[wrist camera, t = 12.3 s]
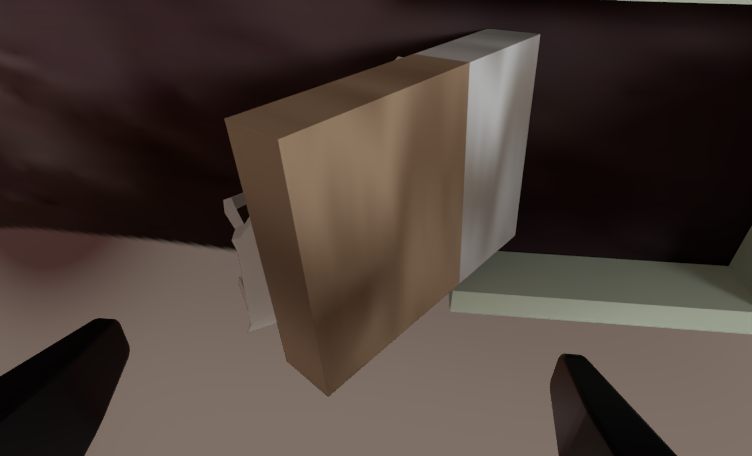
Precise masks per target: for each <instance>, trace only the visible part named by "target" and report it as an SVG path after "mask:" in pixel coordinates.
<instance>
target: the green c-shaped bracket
mask: <svg viewBox="0 0 752 456" xmlns="http://www.w3.org/2000/svg"><path fill="white" fill-rule="evenodd" d="M619 1H652V2H685V3H719V4H752V0H619ZM449 306H450V312H460V313H474V314H487V315H500V316H513V317H527V318H540V319H554V320H567V321H581V322H594V323H607V324H621V325H634V326H648V327H662V328H675V329H688V330H702V331H714V332H728V333H742V334H752V226H751V228H750V230H749V231H748V233H747V235H746V237H745V238H744V240H743V242H742V244H741V245H740V247H739V249H738V251H737V252H736V254H735V256H734V258H733V259H732V261H731V263H730V265H729V266H718V265H703V264H688V263H672V262H657V261H642V260H627V259H612V258H596V257H581V256H566V255H551V254H535V253H520V252H505V251H497V252H495V253H494V254H493V255H492V256H491V257H490V258H488V259H487V260H486V261H485V262H484V263H483V264H481V265H480V266H479V267H478V268H477V269H476V270H475V271H473V272H472V273H471V274H470V275H469V276H468V277H466V278H465V279H464V280H463V281H462V282H461V283H459V284H458V285H457V286H456V287H455V288H454V289H453V290H451V291H450V292H449Z"/></svg>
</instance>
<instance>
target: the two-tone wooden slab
mask: <svg viewBox="0 0 752 456" xmlns="http://www.w3.org/2000/svg"><path fill="white" fill-rule="evenodd" d="M539 41H540V34H535V33H525V32H514V31H504V30H494V29H485V30H482V31H479V32H476V33H473V34H471V35H468V36H465V37H462V38H459V39H456V40H453V41H450V42H447V43H444V44H441V45H438V46H435V47H433V48H430V49H427V50H424V51H421V52H418V53H415V54H412V55H409V56H406V57H403V58H400V59H397V60H394V61H392V62H389V63H386V64H383V65H380V66H377V67H374V68H371V69H368V70H365V71H362V72H359V73H356V74H353V75H351V76H348V77H345V78H342V79H339V80H336V81H333V82H330V83H327V84H324V85H321V86H318V87H315V88H313V89H310V90H307V91H304V92H301V93H298V94H295V95H292V96H289V97H286V98H283V99H280V100H277V101H274V102H272V103H269V104H266V105H263V106H260V107H257V108H254V109H251V110H248V111H245V112H242V113H239V114H236V115H234V116H231V117H228V118H225V123H226V127H227V131H228V135H229V139H230V143H231V147H232V150H233V154H234V158H235V162H236V166H237V170H238V174H239V178H240V182H241V185H242V189H243V193H244V197H245V201H246V205H247V209H248V213H249V216H250V220H251V224H252V228H253V232H254V236H255V240H256V244H257V248H258V251H259V255H260V259H261V263H262V267H263V271H264V275H265V279H266V283H267V286H268V290H269V294H270V298H271V302H272V306H273V310H274V314H275V317H276V321H277V325H278V329H279V333H280V337H281V340H282V345H283V349H284V352H285V356H286V360H287V362H288V363H290V364H291V365H292V366H293V367H294V368H295V369H297V370H298V371H299V372H300V373H301V374H302V375H303V376H305V377H306V378H307V379H308V380H309V381H310V382H312V383H313V384H314V385H315V386H316V387H317V388H318V389H320V390H321V391H322V392H323V393H324V394H325V395H326V396H330V395H331V394H332V393H333V392H334V391H336V390H337V389H338V388H339V387H340V386H341V385H343V384H344V383H345V382H346V381H347V380H348V379H349V378H351V377H352V376H353V375H354V374H355V373H356V372H357V371H359V370H360V369H361V368H362V367H363V366H365V365H366V364H367V363H368V362H369V361H370V360H371V359H373V358H374V357H375V356H376V355H377V354H378V353H380V352H381V351H382V350H383V349H384V348H385V347H386V346H388V345H389V344H390V343H391V342H392V341H393V340H395V339H396V338H397V337H398V336H399V335H400V334H402V333H403V332H404V331H405V330H406V329H407V328H408V327H410V326H411V325H412V324H413V323H414V322H415V321H417V320H418V319H419V318H420V317H421V316H422V315H424V314H425V313H426V312H427V311H428V310H429V309H430V308H432V307H433V306H434V305H435V304H436V303H437V302H439V301H440V300H441V299H442V298H443V297H444V296H445V295H447V294H448V293H449V292H450V291H451V290H453V289H454V288H455V287H456V286H457V285H458V284H459V283H461V282H462V281H463V280H464V279H465V278H466V277H468V276H469V275H470V274H471V273H472V272H473V271H475V270H476V269H477V268H478V267H479V266H480V265H481V264H483V263H484V262H485V261H486V260H487V259H488V258H490V257H491V256H492V255H493V254H494V253H495V252H497V251H498V250H499V249H500V248H501V247H502V246H503V245H505V244H506V243H507V242H508V241H509V240H510V239H512V238H513V237H514V236H515V232H516V224H517V216H518V208H519V200H520V192H521V184H522V176H523V168H524V160H525V152H526V144H527V136H528V128H529V120H530V112H531V104H532V96H533V88H534V80H535V72H536V64H537V56H538V48H539Z"/></svg>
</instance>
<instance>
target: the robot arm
mask: <svg viewBox="0 0 752 456" xmlns="http://www.w3.org/2000/svg"><path fill="white" fill-rule="evenodd" d="M129 352H130V348H129V344H128V341H127V339H126V336H125V334H124V332H123V329H122V327H121V325H120V323H119V322H118V321H117V320H115V319H103V318H98V319H94V320H92V321H91V322H89V323H87V324H86V325H84V326H82V327H81V328H79V329H78V330H76V331H74V332H73V333H71V334H69V335H68V336H66V337H64V338H63V339H61V340H59V341H58V342H56V343H54V344H53V345H51V346H49V347H48V348H46V349H45V350H43V351H41V352H40V353H38V354H36V355H35V356H33V357H32V358H30V359H28V360H26V361H25V362H23V363H22V364H20V365H18V366H17V367H15V368H13V369H12V370H10V371H9V372H7V373H5V374H3V375H2V376H0V456H84V455H85V453H86V451H87V450H88V448H89V446H90V444H91V442H92V440H93V438H94V437H95V435H96V433H97V430H98V429H99V426H100V424H101V422H102V420H103V418H104V416H105V413H106V411H107V408H108V406H109V403H110V401H111V398H112V396H113V394H114V391H115V389H116V386H117V384H118V382H119V379H120V377H121V374H122V372H123V369H124V367H125V365H126V362H127V360H128V357H129ZM550 393H551V401H552V409H553V416H554V424H555V431H556V438H557V446H558V453H559V456H677V455H676V454H675V453H674V452H673V451H672V450H671V449H670V448H669V446H668V445H667V444H666V443H665V442H664V441H663V440H662V439H661V438H660V437H659V436H658V435H657V434H656V433H655V431H654V430H653V429H652V428H651V427H650V426H649V425H648V424H647V423H646V422H645V421H644V420H643V419H642V418H641V416H640V415H639V414H638V413H637V412H636V411H635V410H634V409H633V408H632V407H631V406H630V405H629V404H628V403H627V401H626V400H625V399H624V398H623V397H622V396H621V395H620V394H619V393H618V392H617V391H616V390H615V389H614V388H613V386H612V385H611V384H610V383H609V382H608V381H607V380H606V379H605V378H604V377H603V376H602V375H601V374H600V373H599V372H598V370H597V369H596V368H595V367H594V366H593V365H592V364H591V363H590V362H589V361H588V360H587V359H586V358H585V357H584V356H582V355H575V354H562V355H561V356H560V357H559V358H558V361H557V364H556V367H555V370H554V373H553V375H552V378H551V382H550Z"/></svg>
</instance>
